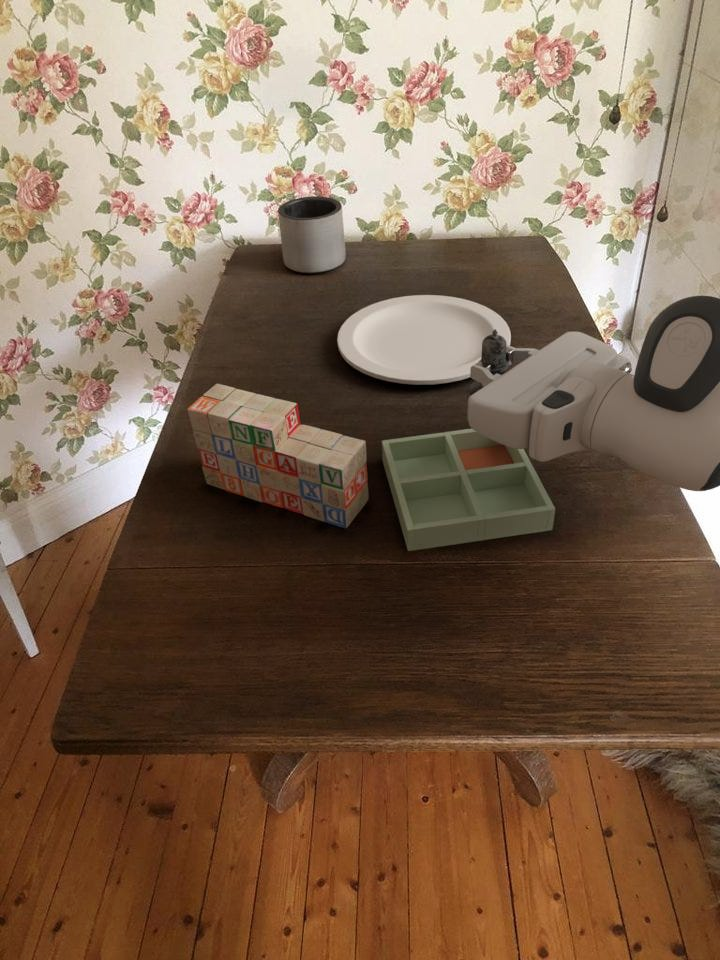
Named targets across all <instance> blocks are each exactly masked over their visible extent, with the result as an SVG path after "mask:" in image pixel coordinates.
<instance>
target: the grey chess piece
mask: <svg viewBox="0 0 720 960" xmlns="http://www.w3.org/2000/svg"><path fill="white" fill-rule="evenodd" d="M497 334H498V332H497V330H496V329H495V330H494V331H493V332H492V335H489V336H487V337H485V338H484V340H483V342H482V357H481V360H480V361H482V362H483V363H487V364H489V365H491V366H490V372H491V374H492V375H495V374H500V375H503V374H505V373H506V370H507V369H508V368H509V366H508V362H507V361H506V360H505V359H506V346H507V344H506V340H505V339H504V338H503V337H502V336H500V335H497ZM482 388H483V385H482V383H480V382H478V381H476V380H475V381H473V382H472V383H471V384H469V386H468V387H467V389H466V395H467V397H468V398H469V397H470V396H471V395H473V394H474V393H476V392H477V391H479V390H480V389H482Z"/></svg>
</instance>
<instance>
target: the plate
mask: <svg viewBox="0 0 720 960" xmlns="http://www.w3.org/2000/svg"><path fill="white" fill-rule="evenodd" d="M495 329H496V330H497V332H498V334H497V335H500V336H502V337H503V338H504V339H505V340H506V344H507V345H509V346H511V342H512V341H511V340H512V335H511V329H510V327H509V325H508V323H507V322H506V320H505V319H504V318H503V317H502V316H501V315H500V314H498V313H497V312H496V311H495V310H493V309H491V308H489V307H487V306H485V305H483V304H480V303H478V302H475V301H473V300H469V299H465V298H461V297H455V296H448V295H437V294H416V295H415V294H414V295H406V296H399V297H392V298H388V299H384V300H381V301H377V302H375V303H372V304H369V305H367V306H365V307H362V308H361V309H359V310H358V311H356V312H354V313H353V314H351V315H350V316H349V317H348V318H347V319H346V320H344V322H343V324H342V325H341V326H340V328H339V330H338V333H337V338H336V342H337V348H338V351H339V354H340V355H341V357H342V358H343V359H344V361H345V362H346V363H347V364H348V365H349V366H350V367H352V368H353V369H355V370H357V371H358V372H360V373H362V374H364V375H367V376H369V377H372V378H375V379H378V380H381V381H385V382H390V383H395V384H396V383H397V384H402V385H415V386H416V385H417V386H418V385H419V386H421V385H440V384H448V383H453V382H458V381H463V380H466V379H469V378H471V376H470V370H471V366H473V365H474V364H476V363H478V362H479V361H480V360H481V357H482V342H483V340H484V338H485V337H487V336H489V335H492V332H493V331H494V330H495Z"/></svg>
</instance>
